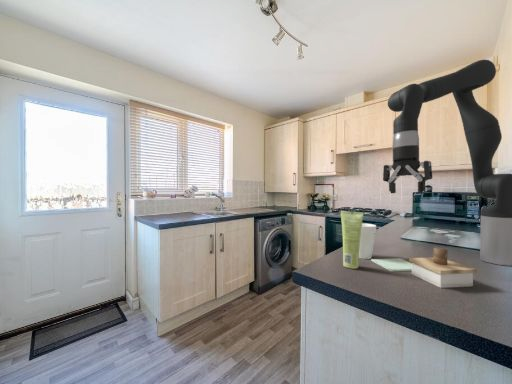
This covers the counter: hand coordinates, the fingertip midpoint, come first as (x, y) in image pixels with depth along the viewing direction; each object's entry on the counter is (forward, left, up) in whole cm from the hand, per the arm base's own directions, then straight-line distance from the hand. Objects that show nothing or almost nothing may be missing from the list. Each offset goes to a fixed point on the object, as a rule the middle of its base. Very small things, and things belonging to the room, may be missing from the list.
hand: (406, 193), depth 76 cm
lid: (-3, +10, -22) cm, 24 cm away
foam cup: (+7, -14, -26) cm, 31 cm away
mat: (+1, -3, -26) cm, 26 cm away
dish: (-3, +10, -26) cm, 28 cm away
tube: (+18, -3, -26) cm, 32 cm away
